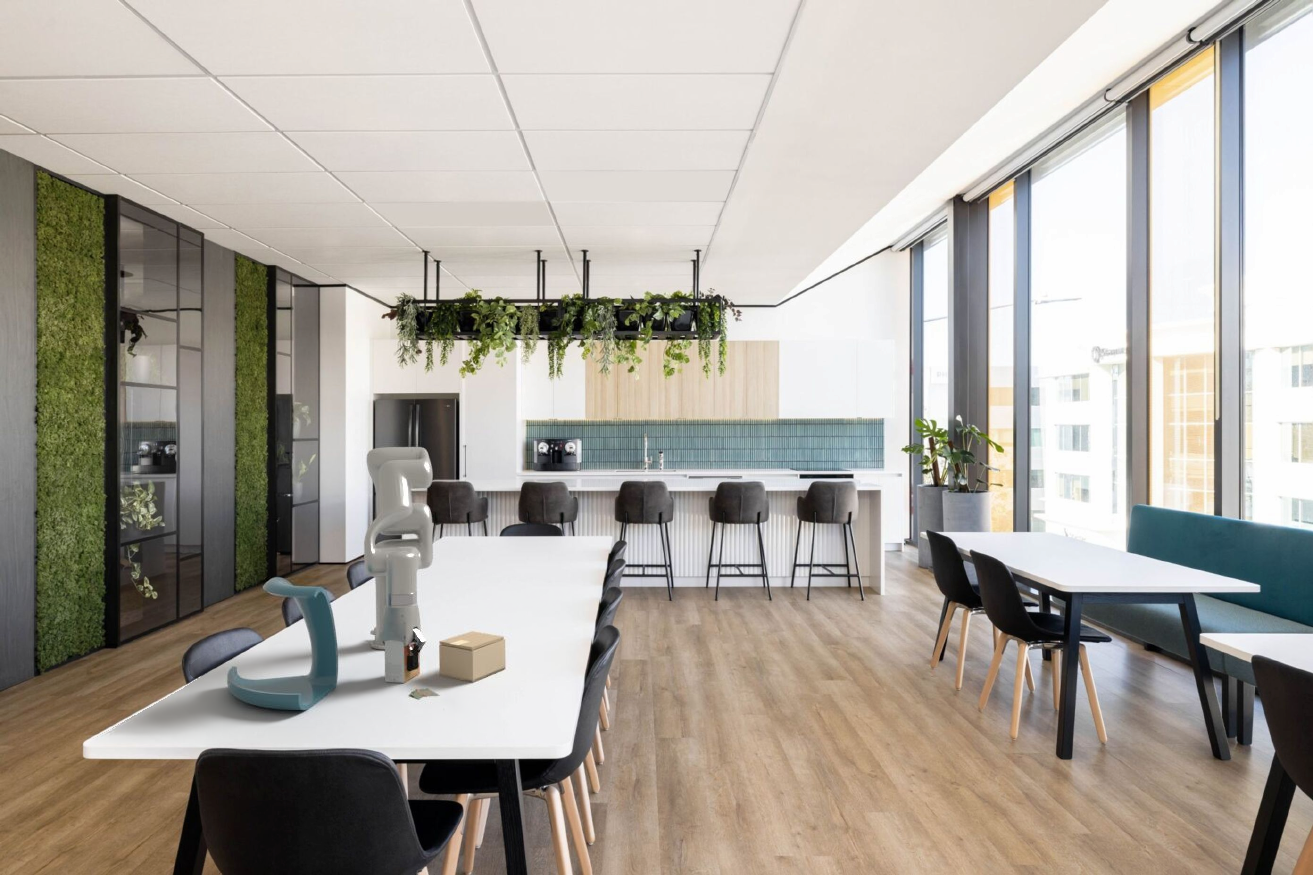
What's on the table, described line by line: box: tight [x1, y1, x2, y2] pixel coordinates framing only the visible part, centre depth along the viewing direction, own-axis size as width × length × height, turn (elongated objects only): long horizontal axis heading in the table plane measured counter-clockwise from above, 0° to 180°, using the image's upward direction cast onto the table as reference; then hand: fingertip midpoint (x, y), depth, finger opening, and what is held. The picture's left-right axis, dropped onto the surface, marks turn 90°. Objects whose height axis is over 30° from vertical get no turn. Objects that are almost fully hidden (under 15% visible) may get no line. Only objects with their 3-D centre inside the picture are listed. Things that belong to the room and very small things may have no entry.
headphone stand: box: [226, 576, 339, 711], centre depth 176 cm, size 26×28×28 cm
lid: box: [439, 631, 505, 650], centre depth 191 cm, size 12×12×1 cm
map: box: [410, 688, 441, 700], centre depth 170 cm, size 5×20×1 cm, turn 47°
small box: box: [384, 640, 421, 684], centre depth 187 cm, size 8×6×10 cm
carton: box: [438, 638, 506, 683], centre depth 191 cm, size 12×12×8 cm
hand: (402, 666), depth 187 cm, fingers closed on small box, 7 cm apart
